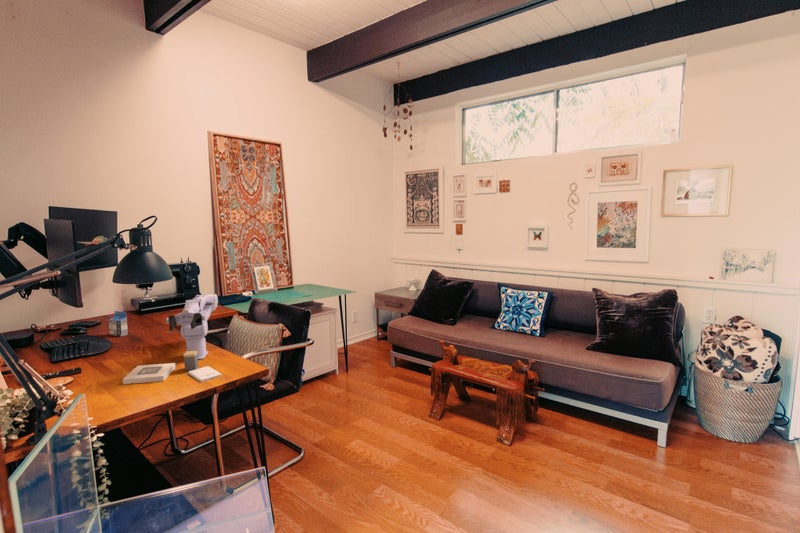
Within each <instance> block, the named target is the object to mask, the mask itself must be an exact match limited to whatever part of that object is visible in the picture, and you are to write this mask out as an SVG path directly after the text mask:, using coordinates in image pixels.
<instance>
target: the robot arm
mask: <svg viewBox="0 0 800 533" xmlns="http://www.w3.org/2000/svg"><path fill="white" fill-rule="evenodd" d="M218 297H219V296H218V295H217V293H214V294H196V295H195V297H193V298H192V299H188V300H187V299H186V300H185V305H184V308H183V309H182V312H180V313H177V314H175V315H174V314H171V315H168V316H167V318H166V320H165V321H166V325H168V324H169V326H168V328H169V331H170V332H172V331H173V330H175V329H176V328H178V326H177V325H179V326H180V325H181V327H180V335H181V337H183V338H184V340H185V342H186V343H185V344H186V347H185V348H186V351H198V353H197V356H198V360H204V359H205V358H206V356H207V355H208V353H209V351H208V350H207V342H206V336H207V334H208V330H209V326H208V325H209V324H208V320H209V318H210V316H211V314H212V312H214V311H216V309H217V307H218V304H219V298H218Z"/></svg>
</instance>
